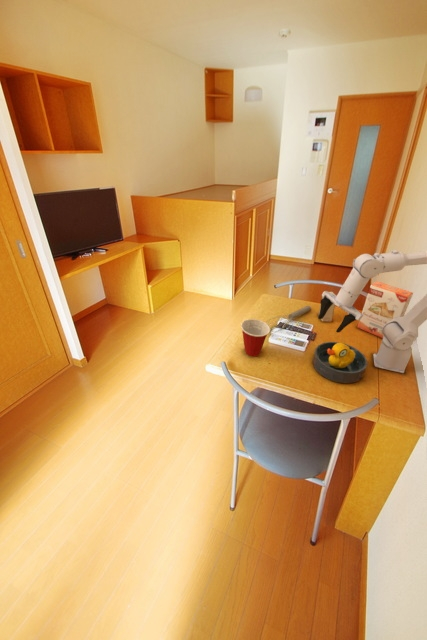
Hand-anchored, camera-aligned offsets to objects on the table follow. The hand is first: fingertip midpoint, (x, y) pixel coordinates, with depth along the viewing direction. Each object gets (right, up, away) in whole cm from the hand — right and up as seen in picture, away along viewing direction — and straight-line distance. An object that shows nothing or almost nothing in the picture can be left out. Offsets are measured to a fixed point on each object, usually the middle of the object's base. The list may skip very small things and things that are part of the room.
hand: (328, 324), depth 99 cm
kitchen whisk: (-6, +1, +32) cm, 32 cm away
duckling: (+5, -15, +5) cm, 17 cm away
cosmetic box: (+12, +2, +34) cm, 36 cm away
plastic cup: (-24, -11, +13) cm, 29 cm away
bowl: (+5, -15, +5) cm, 17 cm away
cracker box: (+30, -4, +25) cm, 39 cm away
